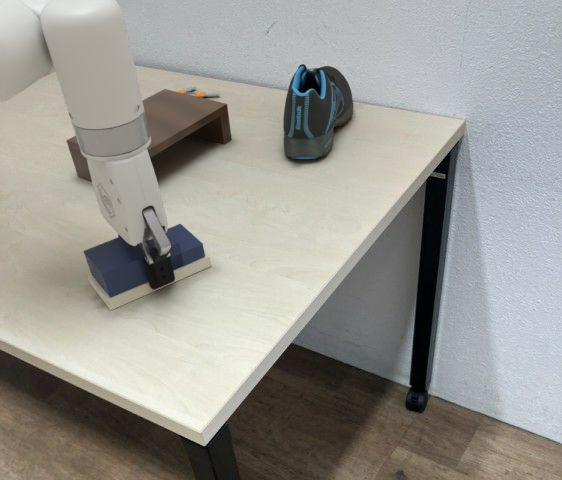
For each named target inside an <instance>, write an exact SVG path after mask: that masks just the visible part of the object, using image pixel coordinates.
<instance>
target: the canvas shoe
mask: <svg viewBox="0 0 562 480" xmlns="http://www.w3.org/2000/svg"><path fill="white" fill-rule="evenodd" d="M147 234H150V232H149V230H148V229H147V230H145V231H144V236H145V235H147ZM165 234H166V236H167V238H168V240H169V242H170V244H171V248H170V250H169V251H170V259H171V263H172V267H173V271H174V275H175V280H174V281H173V282H171V283H169V284H167V285H164V286H162V287H160V288H158V289H155V290H153V289H152V288H151V287H150V285H149V281H148V278H147V274H146V270H145V267H144V263H143V262H144V261H146V259H145V257H144V255H143V252H142V250H141V247H140V245H139V244H137V245H136V246H132V245H130V244H128V243H127V242H126V241H125V240H124V239H123V238H122V237H121V236H120V237H115V238H113V239H110V240H108V241H105V242H103V243H101V244H98V245H95V246H92V247H90V248H87V249H85V250H83V254H84V257H85V260H86V264H87V265H88V268H89V271H90V274H87V275H86V276H87V278H88V279H87V280H88V281H89V284H90V287H92V289H93V290H94V291H95V292H96V293H97V295H98V297H100V299H101V300H102V301H103V302H104V304H105V305H106V306H107V308H108V309H109V310H110V311H113V310H115V309H117V308H120V307H122V306H124V305H126V304H129V303H131V302H134V301H136V300H138V299H140V298H143V297H145V296H146V295H149V294H151V293H154V292H156V291H159V290H160V289H162V288H165V287H168V286H170V285H172V284H175V283H176V282H178V281H180V280H183V279H186V278H188V277H190V276H192V275H194V274H196V273H199V272H200V271H203V270H206V269H208V268H211V267H212V261H211V256H210V255H209V254H208V253H206V251H205V247H204V243H203V242H202V241H201V240H199V238H197V237H196V236H195V235H194V233H192V232H190V230H189V229H187V228H186V227H185V226H184V225H183V224H182V223H178V224H176V225H173V226H171V227H168V230H167V232H166V233H165ZM146 244H147V246H148V249H149V251H151V249H152V248H154V247H155V246H154V245H155V243H154V240H153V239H152V240H150V241H147V242H146Z"/></svg>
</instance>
